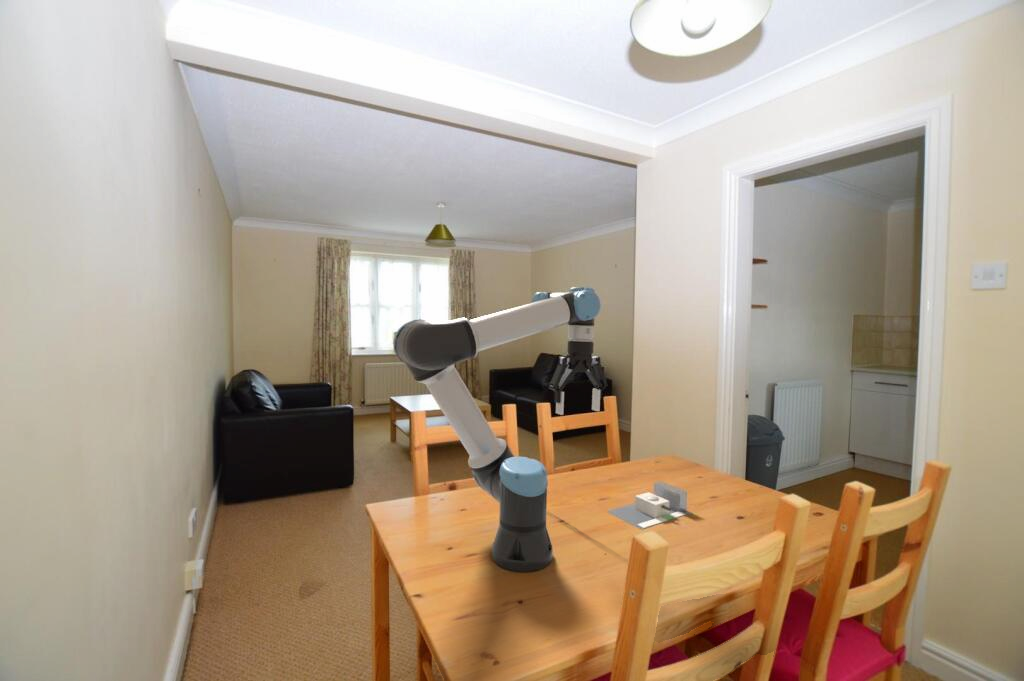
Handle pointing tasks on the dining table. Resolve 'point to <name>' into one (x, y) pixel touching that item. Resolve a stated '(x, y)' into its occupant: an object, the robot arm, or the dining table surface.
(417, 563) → the dining table surface
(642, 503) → the gauge carriage
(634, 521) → the gauge board
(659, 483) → the upright metal panel
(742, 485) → the dining table surface
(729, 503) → the dining table surface
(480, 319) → the robot arm
